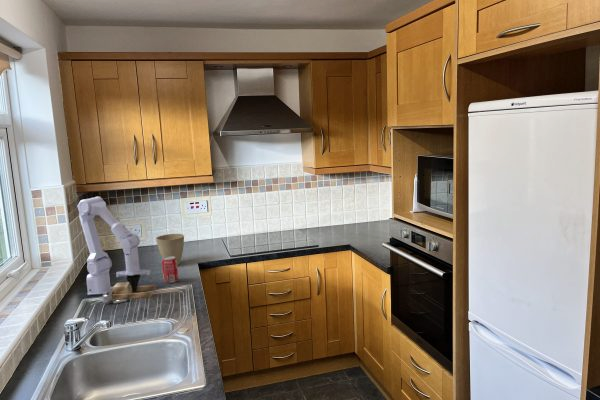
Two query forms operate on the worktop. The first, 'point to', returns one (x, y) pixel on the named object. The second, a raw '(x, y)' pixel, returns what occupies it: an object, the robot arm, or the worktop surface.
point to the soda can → (170, 269)
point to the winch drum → (108, 298)
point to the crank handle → (122, 300)
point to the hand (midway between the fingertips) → (135, 290)
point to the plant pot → (171, 245)
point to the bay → (136, 295)
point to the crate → (122, 288)
